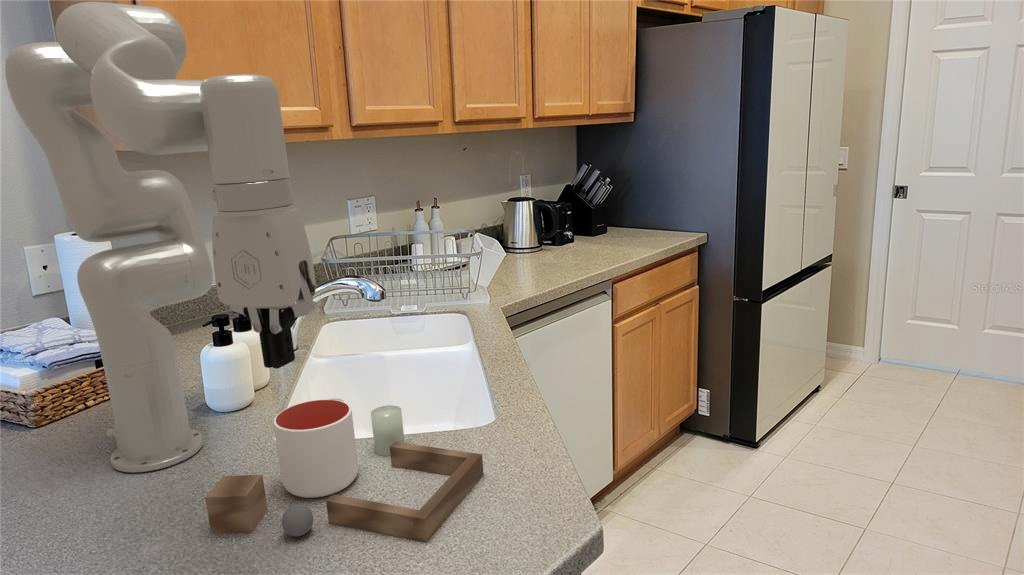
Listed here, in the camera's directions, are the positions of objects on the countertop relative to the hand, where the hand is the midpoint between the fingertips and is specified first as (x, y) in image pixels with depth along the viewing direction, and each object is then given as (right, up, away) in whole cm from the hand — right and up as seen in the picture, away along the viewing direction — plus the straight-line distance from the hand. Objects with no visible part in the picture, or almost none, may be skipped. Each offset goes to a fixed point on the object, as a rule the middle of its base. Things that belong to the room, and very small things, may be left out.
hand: (280, 363), depth 77 cm
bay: (+12, -18, +12) cm, 25 cm away
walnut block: (-8, -21, +9) cm, 24 cm away
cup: (0, -18, +17) cm, 25 cm away
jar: (+8, -15, +26) cm, 31 cm away
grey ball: (0, -21, +6) cm, 22 cm away
